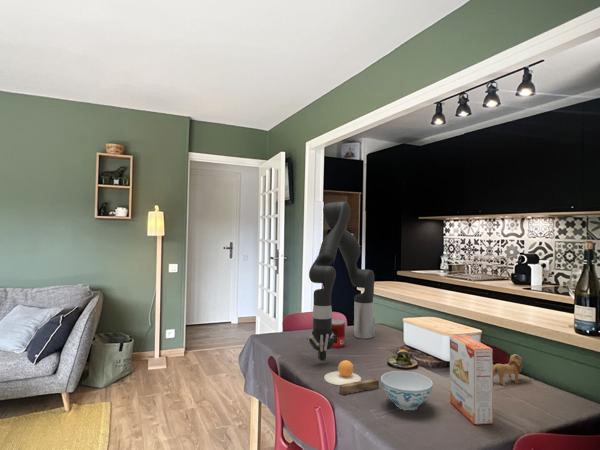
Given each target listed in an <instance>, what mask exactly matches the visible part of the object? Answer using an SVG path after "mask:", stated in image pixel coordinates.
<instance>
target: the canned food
mask: <svg viewBox="0 0 600 450" xmlns="http://www.w3.org/2000/svg"><path fill="white" fill-rule="evenodd" d="M345 325H346V323H345V320H341V319H332V328H331V330H332V333H333V334H334V335H336V336H337V339H336V340H335V342H334V344H333V345H332V347H331V348H333V349H340V348H344V347H345V343H346V342H345V341H346V339H345V336H346V332H345V331H346V326H345ZM329 339H330V338H329Z"/></svg>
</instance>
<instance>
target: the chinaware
mask: <svg viewBox="0 0 600 450" xmlns="http://www.w3.org/2000/svg"><path fill="white" fill-rule="evenodd" d="M380 381H381V386H382V389H383V391H384V393H385V395H386V396H387V398H388V399H389V400H390V401H391V402H392V403H394V406H395V405H396V406H397V407H399V408H401V409H405V410H404V411H406V410H413V411H415V410H414V409H416V410H417V409H419V406H422V405H423V404H424V403H425V402H426V401H427V400H428V398H429V397H430V395H431V392H432V390H433V381H432V380H431V378H430V377H428V376H426V375H423V374H420V373H418V372H413V371H405V370H404V371H403V370H395V371H389V372H385V373H383V374H382V375H381V377H380ZM396 406H395V407H396ZM397 407H396V408H397ZM399 408H398V409H399ZM401 409H400V410H401Z"/></svg>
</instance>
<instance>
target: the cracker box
mask: <svg viewBox="0 0 600 450" xmlns="http://www.w3.org/2000/svg"><path fill="white" fill-rule="evenodd" d="M493 354H494V351H493V348H492V347H490V346H487V345H486V344H484V343H482V342H481V341H478V340H476V339H475V338H473V337H471V336H470V335H467V334H452V335H449V402H450V403H451V404H452V405H453V406H454V407H455V408H456V409H457V410H458V412H461V414H462V415H463V416H464V417H466V418H467V420H469V421H470V423H472V424H473V425H474V424H476V425H493V424H494V377H493V367H494V365H493V363H494V360H493V359H494V358H493V357H494V355H493Z"/></svg>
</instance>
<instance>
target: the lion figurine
mask: <svg viewBox="0 0 600 450" xmlns="http://www.w3.org/2000/svg"><path fill="white" fill-rule="evenodd" d="M523 363H524V362H523V358H522V357H521V356H520V355H519V354H516V353H515V354H511V355H510V356H509V362H508V363H504V364H502V363H495V364H494V365H493V378H494V377H495V376H496V375H497V374H498V376H499V380H498V381H499V382H500V384H501V385H503V386H507V384H506V383H505V382H504V381H503V380H504V376H507V380H508V381H511V382H512V381H513V379H512V375H514V383H516V384H520V380H519V375H520V373H521V372H522V370H523ZM518 380H519V381H518Z"/></svg>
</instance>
